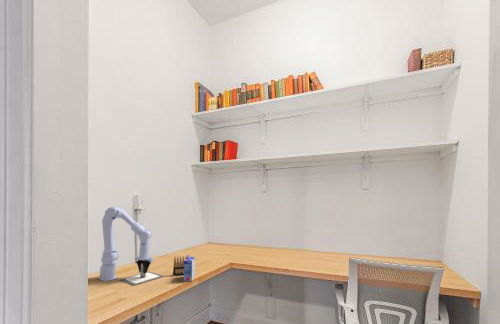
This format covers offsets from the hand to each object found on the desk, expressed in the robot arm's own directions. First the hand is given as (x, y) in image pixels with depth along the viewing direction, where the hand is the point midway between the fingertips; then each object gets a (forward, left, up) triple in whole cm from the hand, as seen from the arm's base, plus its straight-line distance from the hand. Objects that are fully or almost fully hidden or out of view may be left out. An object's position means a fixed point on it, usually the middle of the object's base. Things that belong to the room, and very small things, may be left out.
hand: (143, 272), depth 155 cm
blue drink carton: (+24, +17, -4) cm, 29 cm away
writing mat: (0, 0, -3) cm, 3 cm away
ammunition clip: (+14, +19, -4) cm, 24 cm away
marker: (0, 0, -2) cm, 2 cm away
